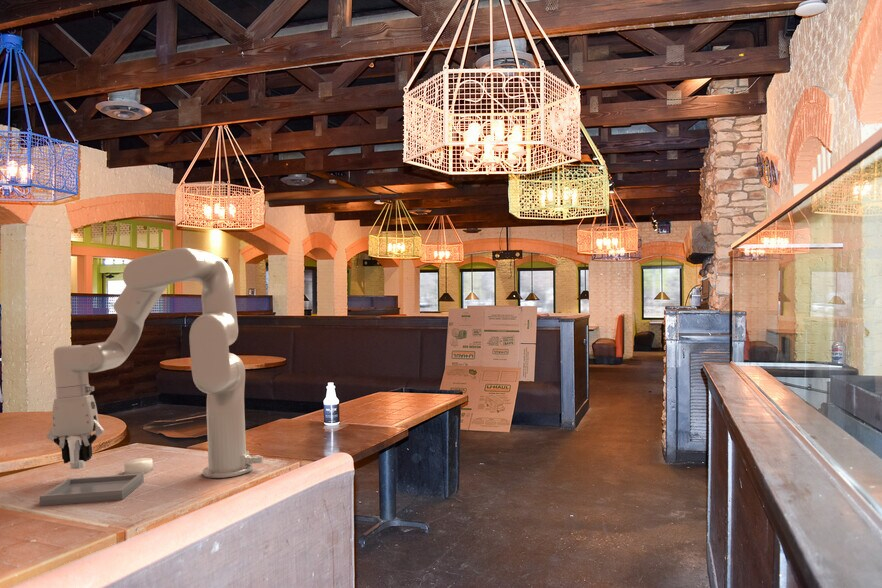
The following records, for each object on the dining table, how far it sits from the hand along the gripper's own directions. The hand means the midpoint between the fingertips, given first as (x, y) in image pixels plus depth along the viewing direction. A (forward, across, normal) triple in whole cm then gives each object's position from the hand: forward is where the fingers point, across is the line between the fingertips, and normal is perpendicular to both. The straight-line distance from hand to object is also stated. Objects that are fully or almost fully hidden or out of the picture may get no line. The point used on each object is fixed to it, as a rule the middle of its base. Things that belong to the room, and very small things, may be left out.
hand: (77, 460), depth 164 cm
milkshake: (+2, 0, 0) cm, 2 cm away
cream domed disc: (+6, -14, -3) cm, 15 cm away
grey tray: (+5, -10, +15) cm, 19 cm away
